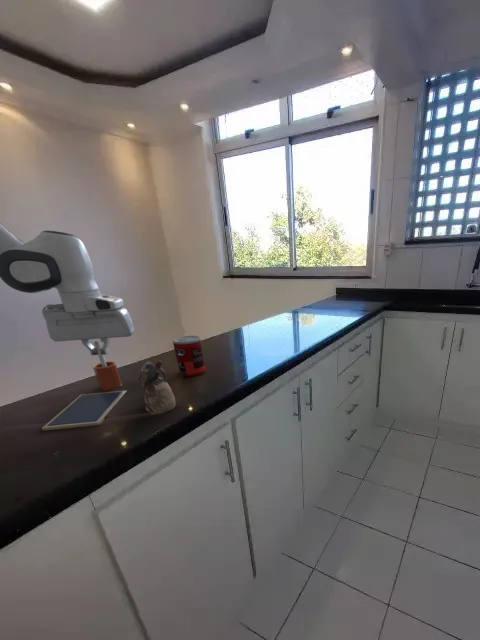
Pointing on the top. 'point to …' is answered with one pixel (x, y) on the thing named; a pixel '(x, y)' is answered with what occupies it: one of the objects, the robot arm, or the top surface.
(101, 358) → the stylus
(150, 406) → the figurine
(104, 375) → the pen cup
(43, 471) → the top surface
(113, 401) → the tablet
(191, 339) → the canned food
